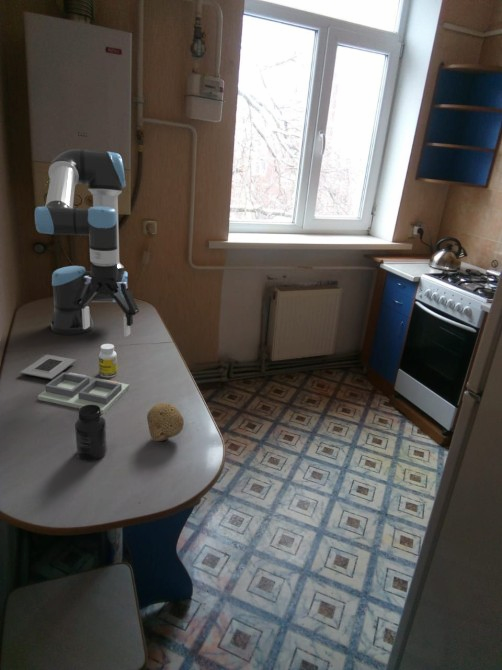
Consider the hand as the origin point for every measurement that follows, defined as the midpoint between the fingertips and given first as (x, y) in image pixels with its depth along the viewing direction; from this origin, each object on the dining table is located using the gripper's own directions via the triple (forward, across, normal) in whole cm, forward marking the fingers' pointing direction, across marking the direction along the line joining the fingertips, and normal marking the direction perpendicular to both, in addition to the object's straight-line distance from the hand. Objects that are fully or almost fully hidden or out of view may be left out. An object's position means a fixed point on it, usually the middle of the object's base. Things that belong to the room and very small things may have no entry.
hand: (106, 331), depth 137 cm
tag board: (+15, 0, -13) cm, 20 cm away
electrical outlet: (+15, -18, -4) cm, 24 cm away
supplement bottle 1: (+15, +16, -36) cm, 42 cm away
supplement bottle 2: (+15, 0, 0) cm, 15 cm away
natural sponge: (+15, +30, -25) cm, 42 cm away
